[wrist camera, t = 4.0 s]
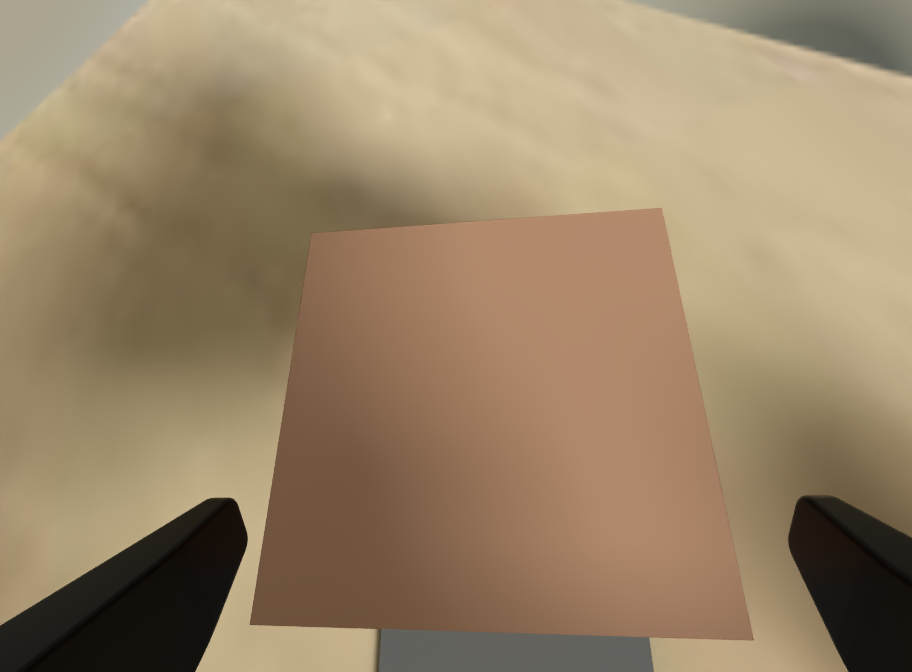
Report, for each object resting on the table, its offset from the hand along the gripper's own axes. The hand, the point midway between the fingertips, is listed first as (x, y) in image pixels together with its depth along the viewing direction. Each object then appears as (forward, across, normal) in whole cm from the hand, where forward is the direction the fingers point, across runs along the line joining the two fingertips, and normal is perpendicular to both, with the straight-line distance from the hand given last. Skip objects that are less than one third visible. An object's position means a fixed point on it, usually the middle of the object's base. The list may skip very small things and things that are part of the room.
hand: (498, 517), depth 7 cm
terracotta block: (+6, 0, +5) cm, 8 cm away
